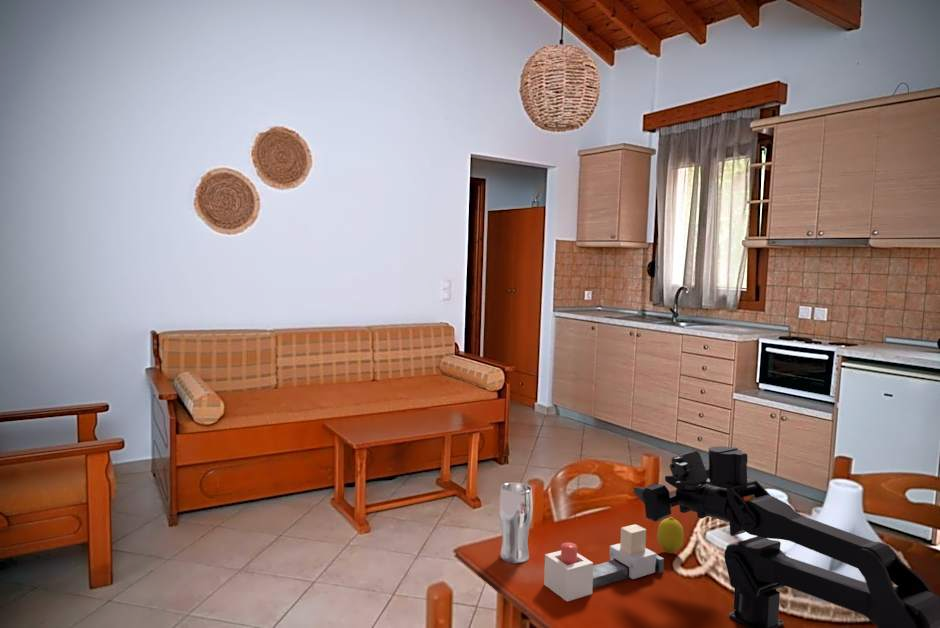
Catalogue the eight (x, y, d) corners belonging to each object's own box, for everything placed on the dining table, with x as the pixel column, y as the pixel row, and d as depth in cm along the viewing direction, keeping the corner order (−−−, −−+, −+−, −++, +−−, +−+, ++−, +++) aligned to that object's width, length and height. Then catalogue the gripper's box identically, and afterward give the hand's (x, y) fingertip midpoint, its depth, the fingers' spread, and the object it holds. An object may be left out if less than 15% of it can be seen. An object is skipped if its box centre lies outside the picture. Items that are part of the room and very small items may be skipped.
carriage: (655, 572, 125) (657, 532, 124) (633, 579, 122) (635, 538, 121) (630, 558, 131) (632, 519, 130) (609, 564, 128) (610, 525, 127)
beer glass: (492, 559, 130) (494, 489, 129) (506, 546, 136) (508, 479, 135) (523, 567, 126) (525, 495, 125) (536, 554, 133) (538, 485, 132)
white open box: (592, 593, 116) (593, 562, 116) (567, 601, 114) (568, 569, 113) (568, 577, 123) (569, 548, 122) (544, 584, 120) (545, 554, 119)
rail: (663, 571, 126) (663, 558, 126) (598, 592, 117) (598, 577, 117) (638, 557, 132) (638, 545, 132) (574, 575, 123) (575, 562, 123)
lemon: (684, 560, 131) (686, 523, 131) (657, 557, 132) (659, 520, 132) (681, 549, 136) (682, 513, 136) (655, 546, 138) (656, 511, 137)
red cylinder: (579, 573, 117) (580, 547, 117) (567, 576, 116) (568, 550, 115) (569, 566, 120) (570, 541, 120) (557, 569, 118) (558, 544, 118)
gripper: (741, 447, 120) (677, 436, 133) (674, 471, 111) (613, 456, 124) (746, 504, 120) (682, 487, 134) (681, 532, 111) (618, 510, 124)
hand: (650, 483), depth 129 cm, fingers open, 9 cm apart
